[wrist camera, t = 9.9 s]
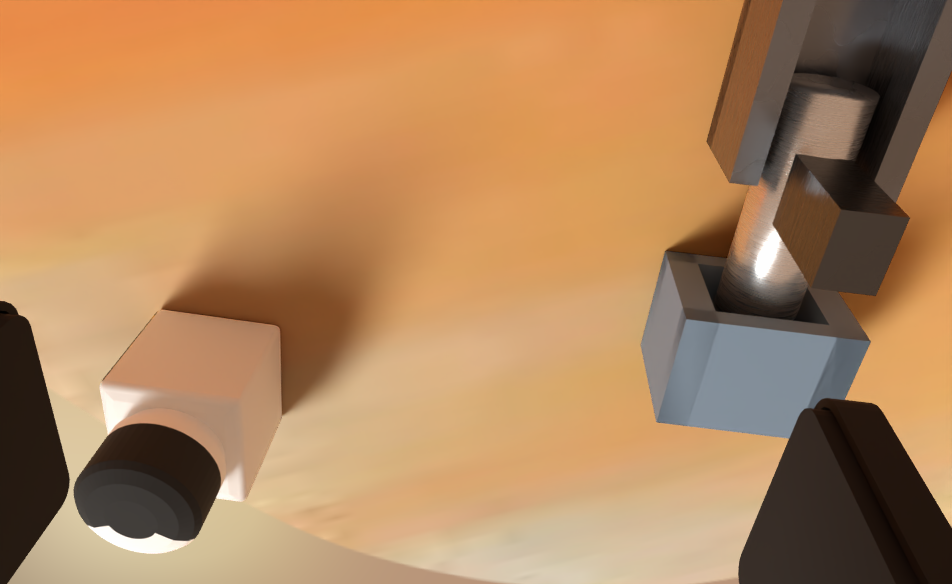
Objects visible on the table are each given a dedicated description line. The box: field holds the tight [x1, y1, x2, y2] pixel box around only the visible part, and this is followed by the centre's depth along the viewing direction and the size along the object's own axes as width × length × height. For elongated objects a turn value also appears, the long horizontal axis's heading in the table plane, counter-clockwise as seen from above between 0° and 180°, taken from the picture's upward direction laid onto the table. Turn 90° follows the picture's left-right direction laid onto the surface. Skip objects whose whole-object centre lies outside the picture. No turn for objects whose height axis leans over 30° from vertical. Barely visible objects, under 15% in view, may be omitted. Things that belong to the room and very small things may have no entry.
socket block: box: [641, 251, 871, 438], centre depth 38 cm, size 6×8×6 cm
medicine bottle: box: [74, 310, 282, 554], centre depth 40 cm, size 7×7×12 cm
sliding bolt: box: [713, 73, 910, 321], centre depth 33 cm, size 14×4×9 cm, turn 174°
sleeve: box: [707, 0, 952, 203], centre depth 31 cm, size 12×7×5 cm, turn 174°
